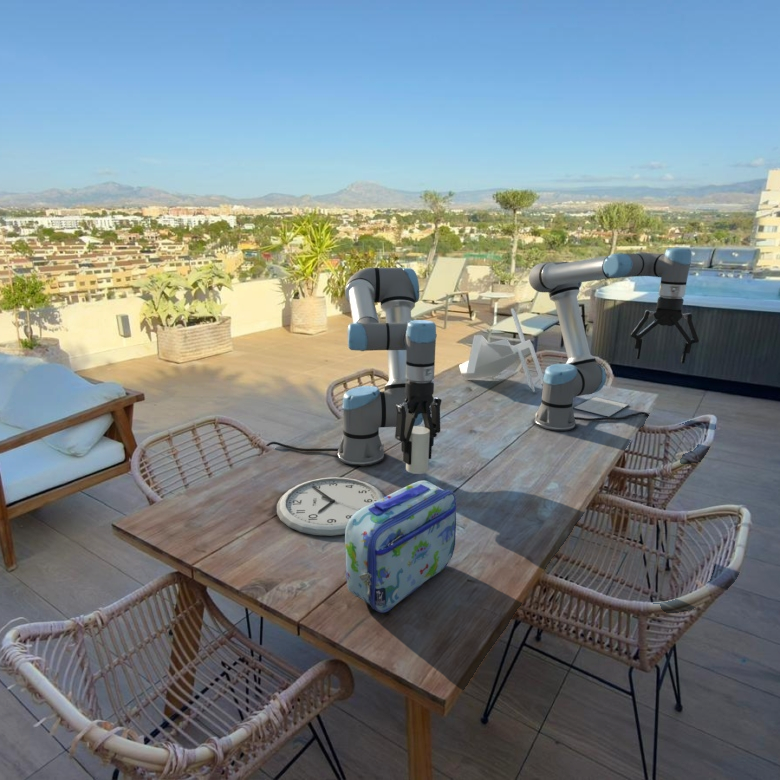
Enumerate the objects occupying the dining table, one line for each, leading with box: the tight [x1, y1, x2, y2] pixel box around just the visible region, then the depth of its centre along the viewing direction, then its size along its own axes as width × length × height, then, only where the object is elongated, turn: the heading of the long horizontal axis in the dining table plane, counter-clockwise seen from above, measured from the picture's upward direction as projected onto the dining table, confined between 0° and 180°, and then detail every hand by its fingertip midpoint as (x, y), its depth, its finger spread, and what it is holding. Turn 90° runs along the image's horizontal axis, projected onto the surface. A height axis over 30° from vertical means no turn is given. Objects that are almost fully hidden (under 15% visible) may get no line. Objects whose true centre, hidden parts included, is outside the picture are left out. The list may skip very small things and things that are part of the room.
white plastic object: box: [458, 307, 544, 393], centre depth 255 cm, size 37×45×31 cm
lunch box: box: [344, 480, 457, 614], centre depth 109 cm, size 26×11×21 cm, turn 135°
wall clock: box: [276, 476, 386, 537], centre depth 142 cm, size 30×2×30 cm
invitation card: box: [573, 396, 629, 417], centre depth 226 cm, size 21×1×15 cm
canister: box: [405, 425, 430, 475], centre depth 144 cm, size 6×6×12 cm
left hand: (417, 459), depth 145 cm, fingers closed on canister, 6 cm apart
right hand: (659, 360), depth 177 cm, fingers open, 13 cm apart
